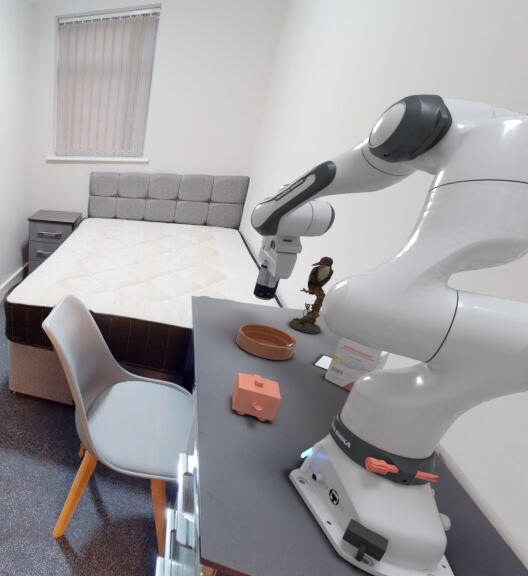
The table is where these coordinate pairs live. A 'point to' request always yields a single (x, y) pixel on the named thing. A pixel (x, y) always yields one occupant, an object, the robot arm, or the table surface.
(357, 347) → the ink cartridge box
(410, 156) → the robot arm
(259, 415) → the pink cube teapot
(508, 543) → the table surface
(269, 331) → the orange round dish
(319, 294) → the sculpture
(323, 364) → the white box
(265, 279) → the beverage can
